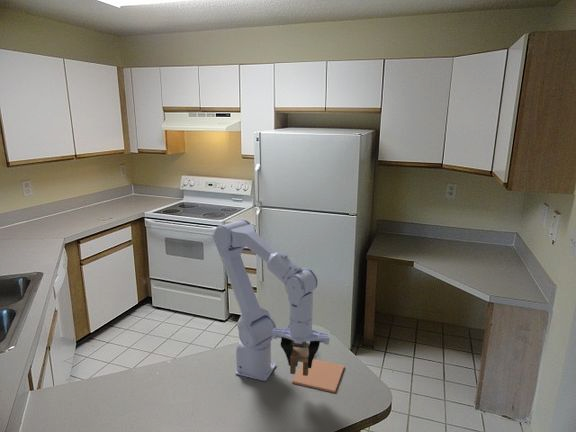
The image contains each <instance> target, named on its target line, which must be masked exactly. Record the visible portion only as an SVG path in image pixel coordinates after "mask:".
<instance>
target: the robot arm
mask: <svg viewBox="0 0 576 432" xmlns="http://www.w3.org/2000/svg"><path fill="white" fill-rule="evenodd" d="M212 236H213V237H212V239H213V242H214V243H215V247H216V249H217V252H218V254H219V256H220V257H219V258H220V259H221V262H222V265H223V267H224V270H225V273H226V275H227V277H228V278H227V279H228V281H229V285H230V286H231V289H232V292H233V294H234V296H235V300H236V302H237V305H238V308H239V310H240V312H241V314H240V317H239V319H238V321H237V323H236V326H237V330H238V338H239V341H238V343H237V347H236V354H235V355H236V356H235V358H236V360H235V361H236V371H235V375H238V376H243V377H247V378H251V379H254V380H255V379H256V380H259V381H264V382H265V381H267V380H268V379H269V377H270V375H271V374H272V372H273V371H274V369H275V368H276V366H277V364H276V363H275V362H272V353H271V352H272V346H271V345H272V344H271V343H272V341H273V340H277V339H280V347H281V348H282V351H284V354H285V357H286V360H287V363H288V364H287V365H288V366H289V367H290V356H291V353H292V350H293V341H294V343H299V344H302V343H303V342H306V343H308V342H309V344H308V349H309V363H308V368H311V366H312V361H313V359H315V358H314V357H315V356H316V353H317V352H318V350H319V348H320V344H321V343H323V344H324V345H327V346H329V344H330V333H326V332H321V331H318V330H315V329H313V299H314V295H313V294H314V290H315V289H316V288H317V287H318V278H317V276H316V274H315V273H314V271H313V270H312V269H310V268H309V267H307V268H306V267H305V268H303V267H302V266H300V265H298V264H297V263H296V262H294V261H293V260H292V259H291V258H290V257H288V256H289V255H288V254H286V253H285V252H282V251H280V252H276V251H275V250H274V249H273V248H272V247H271V246H270V245H269V244H268V243H267V242H266V241H265V240H264V239H263V238H262V237H261V236H260V235H259V234H258V233H257V232H256V227H255V225H254V224H252V223H251V222H250V221H249V220H248V219H245V218H243V219H240V220H237V221H234V222H229V223H226V224H219V225H218V226H216V228H215V230H214V233H213V235H212ZM245 248H247V249H249V250H250V251H251V252H252V253H253V254H255V255H257V256H258V257H259V258H261V259H262V260H263V261H265V262H266V265H267V266H266V267H267V269H268V271H269V272H270V273H272V274H273V275H274V276H275V278H277V279H278V280H280V282H282V283H283V284H284V289H285V291H286V293H287V296H288V302H289V325H290V328H288V327H279V328H278V327H277V325H276V324H277V323H276V322H275V321H274V318H272V316H271V315H270V313H269V310H268V309H266V308H263V307H261V306H260V304H259V301H258V298H257V296H256V294H255V290H254V288H253V285H252V283H251V280H250V278H249V275H248V272H247V270H246V267H245V264H244V262H243V258H242V252H243V250H244V249H245Z"/></svg>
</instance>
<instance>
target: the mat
mask: <svg viewBox="0 0 576 432" xmlns="http://www.w3.org/2000/svg"><path fill="white" fill-rule="evenodd" d="M344 369H345V365H344V364H340V363H334V362H329V361H324V360H320V359H319V360H318V359H315V358H313V361H312V366H311V368H308V376H304V375H303V362H301V364H300V366H299V368H298V370H296V372H295V374H294V375H295V376H294V377H293V379H292V381H291V382H292V384H295V385H299V386H303V387H308V388H313V389H316V390H320V391H326V392H328V393H336V392H337V391H336V390H337V388H338V386H339V383H340V380H341V377H342V375H343V372H344Z"/></svg>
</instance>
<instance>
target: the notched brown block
mask: <svg viewBox="0 0 576 432" xmlns="http://www.w3.org/2000/svg"><path fill="white" fill-rule="evenodd" d="M308 348H309V347H308ZM308 348H307V347H293V348H292V349H293V350H292V353H291V356H290V366H289V374H291V375H296V373H297V370H296V369H297V367H298V365H299V362H300V363H302V362H303V375H304V376H308V363H309V349H308Z"/></svg>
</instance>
